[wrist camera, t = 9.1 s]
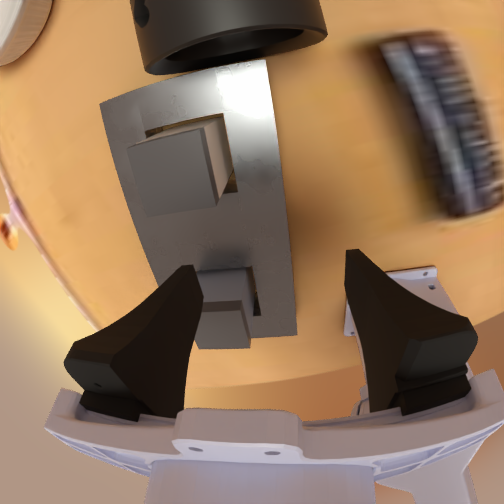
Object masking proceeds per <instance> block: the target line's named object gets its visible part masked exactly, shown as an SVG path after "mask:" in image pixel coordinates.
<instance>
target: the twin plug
mask: <svg viewBox="0 0 504 504" xmlns="http://www.w3.org/2000/svg"><path fill="white" fill-rule="evenodd" d="M197 277H198V281H199V284H200V286H201V289H202V292H203V295H204V299H203V307H202V313H201V317H200V321H199V324H198V328H197V331H196V335H195V338H194V340H195V342H196V344H197V346H198V348H199V349H244V348H250V345H251V334H252V322H253V311H254V300H255V283H254V278H253V272H252V267H251V266H250V267H239V268H227V269H215V270H203V271H197Z"/></svg>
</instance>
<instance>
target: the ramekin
mask: <svg viewBox="0 0 504 504" xmlns="http://www.w3.org/2000/svg"><path fill="white" fill-rule="evenodd" d="M51 5H52V0H0V66H3V65H6V64H8V63H11V62H13V61H14V60H16V59H18V58H19V57H20V56H21V55H23V54H24V53H25V52H26V51H27V50H28V49H29V48H30V47H31V45H32V44H33V43H34V42H35V40H36V39H37V37H38V36H39V34H40V33H41V31H42V29H43V27H44V25H45V23H46V21H47V18H48V16H49V13H50V9H51Z"/></svg>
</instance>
